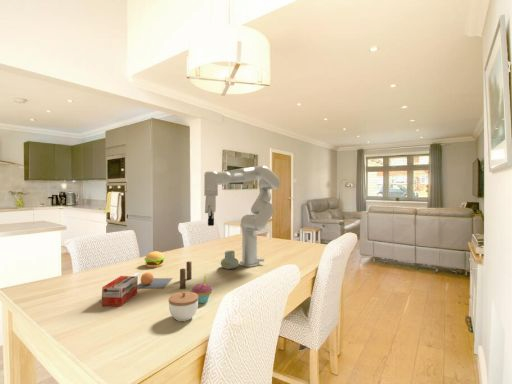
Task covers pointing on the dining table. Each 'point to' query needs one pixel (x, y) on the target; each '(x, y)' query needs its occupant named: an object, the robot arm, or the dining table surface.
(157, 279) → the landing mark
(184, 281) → the post
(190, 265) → the post
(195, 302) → the lidded jar
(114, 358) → the dining table surface
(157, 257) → the hamburger
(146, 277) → the ball
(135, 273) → the stopper wall
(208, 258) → the dining table surface
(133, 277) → the medicine box
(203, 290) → the cupcake
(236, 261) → the air freshener
